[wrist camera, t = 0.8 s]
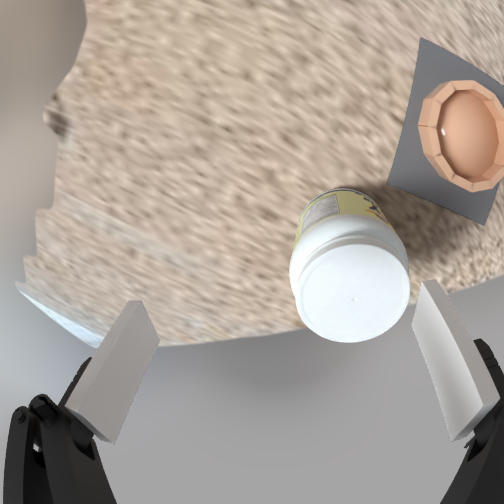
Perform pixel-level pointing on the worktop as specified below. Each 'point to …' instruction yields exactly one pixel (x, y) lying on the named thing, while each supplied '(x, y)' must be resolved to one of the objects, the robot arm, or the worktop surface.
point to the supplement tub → (348, 268)
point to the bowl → (464, 134)
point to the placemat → (410, 147)
